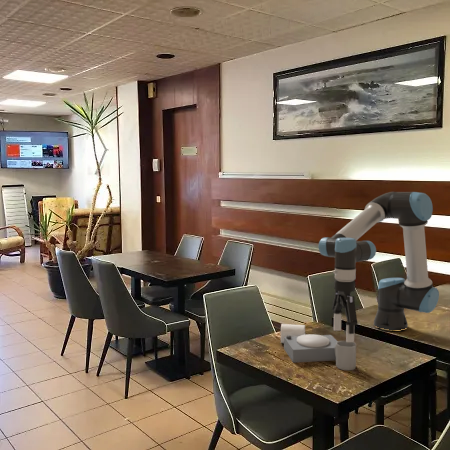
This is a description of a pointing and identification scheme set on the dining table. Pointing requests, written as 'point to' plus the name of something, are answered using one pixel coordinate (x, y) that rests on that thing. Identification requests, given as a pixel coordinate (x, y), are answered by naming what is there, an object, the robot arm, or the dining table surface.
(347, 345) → the cup
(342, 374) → the dining table surface
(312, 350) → the square base with disc
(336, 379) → the dining table surface
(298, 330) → the white rounded block
